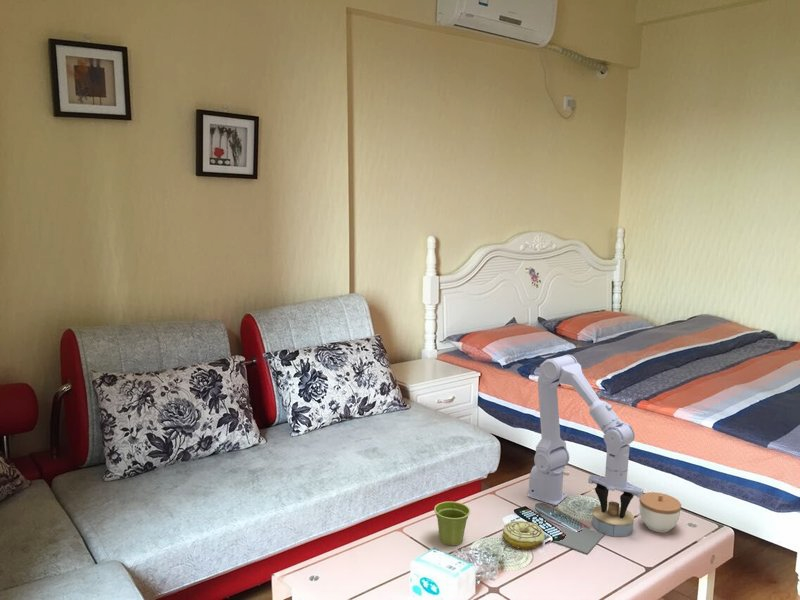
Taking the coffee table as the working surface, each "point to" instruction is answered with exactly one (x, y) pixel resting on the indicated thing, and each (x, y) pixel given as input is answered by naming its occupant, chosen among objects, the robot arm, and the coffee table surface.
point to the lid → (613, 515)
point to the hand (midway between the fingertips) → (613, 513)
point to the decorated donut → (523, 534)
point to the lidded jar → (659, 511)
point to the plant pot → (451, 521)
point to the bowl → (611, 528)
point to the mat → (580, 539)
